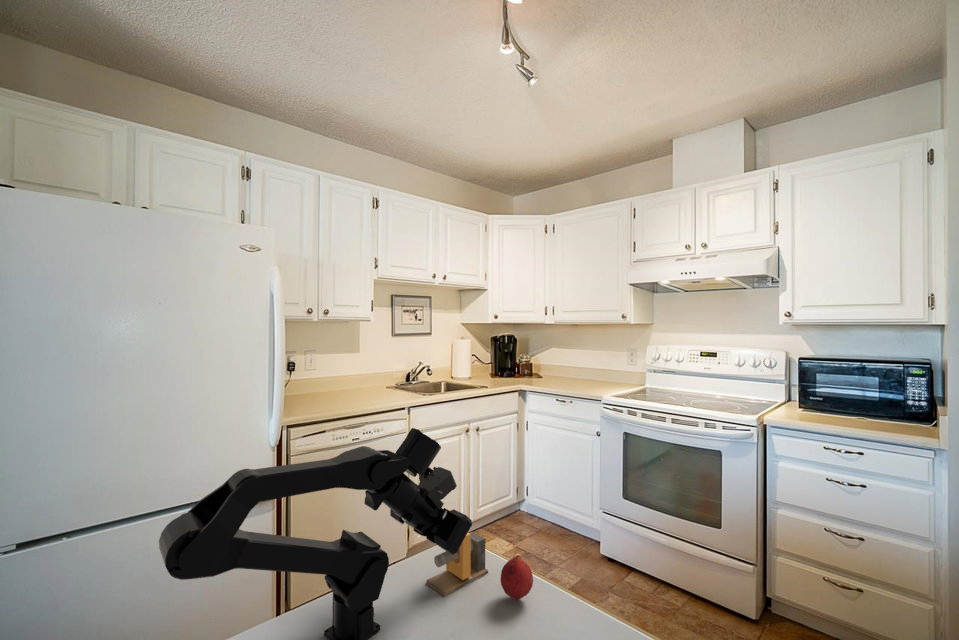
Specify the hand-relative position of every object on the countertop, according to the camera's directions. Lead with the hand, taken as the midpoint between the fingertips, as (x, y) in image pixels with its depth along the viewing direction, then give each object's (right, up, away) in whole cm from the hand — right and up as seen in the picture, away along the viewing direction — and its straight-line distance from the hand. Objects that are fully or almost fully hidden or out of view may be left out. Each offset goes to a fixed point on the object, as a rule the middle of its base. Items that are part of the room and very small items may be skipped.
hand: (453, 539), depth 82 cm
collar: (+1, -7, +1) cm, 7 cm away
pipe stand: (+1, -8, +1) cm, 8 cm away
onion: (+12, -8, -6) cm, 15 cm away
